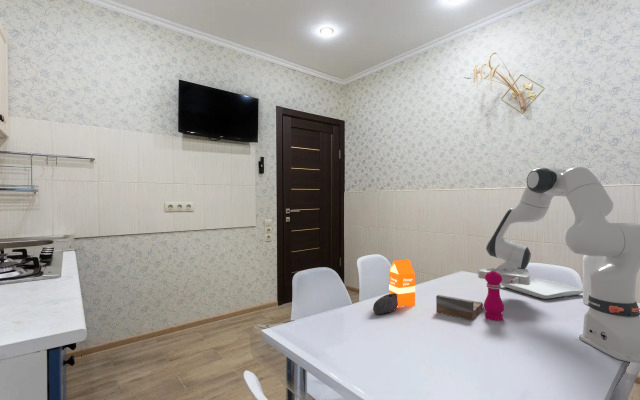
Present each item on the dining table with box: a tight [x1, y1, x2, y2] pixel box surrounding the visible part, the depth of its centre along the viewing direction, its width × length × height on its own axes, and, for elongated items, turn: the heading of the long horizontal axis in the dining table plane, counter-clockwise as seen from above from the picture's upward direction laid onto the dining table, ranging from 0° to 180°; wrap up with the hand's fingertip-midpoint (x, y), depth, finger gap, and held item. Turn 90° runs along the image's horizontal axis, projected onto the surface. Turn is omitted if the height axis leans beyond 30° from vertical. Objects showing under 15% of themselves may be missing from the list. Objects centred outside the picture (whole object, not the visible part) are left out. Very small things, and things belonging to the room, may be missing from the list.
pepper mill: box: [483, 267, 505, 322], centre depth 129 cm, size 7×7×20 cm
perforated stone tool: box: [372, 293, 398, 315], centre depth 137 cm, size 15×5×7 cm, turn 128°
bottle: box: [582, 255, 605, 306], centre depth 144 cm, size 8×8×30 cm
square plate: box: [500, 277, 583, 300], centre depth 166 cm, size 27×27×4 cm
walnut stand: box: [435, 294, 484, 321], centre depth 137 cm, size 16×14×7 cm
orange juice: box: [388, 259, 416, 308], centre depth 147 cm, size 8×9×20 cm
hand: (499, 279), depth 138 cm, fingers open, 8 cm apart
